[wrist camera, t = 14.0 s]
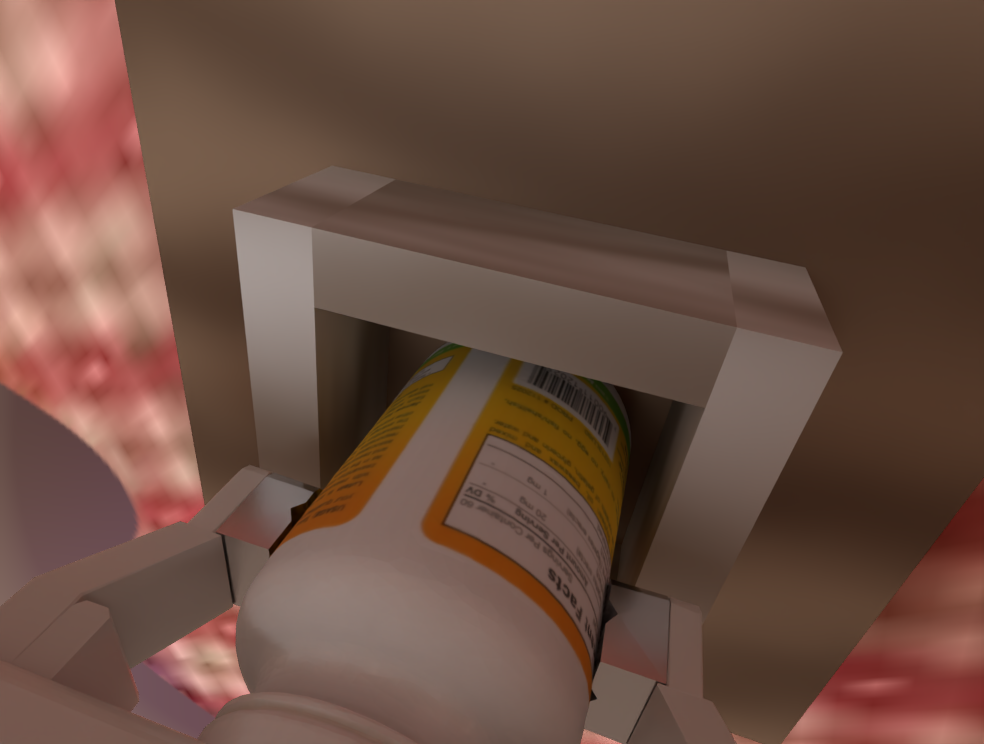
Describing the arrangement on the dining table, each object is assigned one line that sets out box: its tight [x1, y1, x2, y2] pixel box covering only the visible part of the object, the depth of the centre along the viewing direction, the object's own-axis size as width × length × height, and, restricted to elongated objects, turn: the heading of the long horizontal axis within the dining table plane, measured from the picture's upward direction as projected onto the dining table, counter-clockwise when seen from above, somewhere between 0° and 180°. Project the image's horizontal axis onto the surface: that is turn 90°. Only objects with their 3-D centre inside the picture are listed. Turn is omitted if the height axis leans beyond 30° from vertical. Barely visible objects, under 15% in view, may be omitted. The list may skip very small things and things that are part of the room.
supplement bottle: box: [198, 342, 631, 744], centre depth 11 cm, size 5×5×10 cm
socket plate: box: [115, 0, 984, 744], centre depth 14 cm, size 20×20×4 cm
